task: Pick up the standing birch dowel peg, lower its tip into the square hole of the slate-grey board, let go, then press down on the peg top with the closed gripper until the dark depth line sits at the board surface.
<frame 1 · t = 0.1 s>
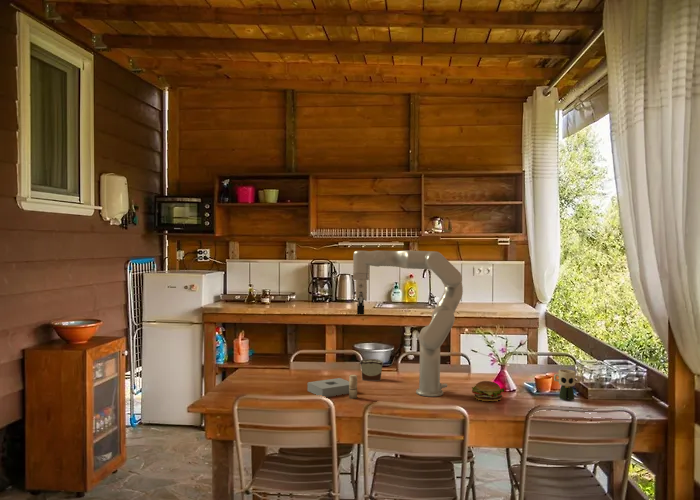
hand: (360, 313, 258), 37 cm above the table, tool pointing down, fingers open, 9 cm apart
socket board: (331, 391, 258), on the table
birch peg: (353, 397, 248), on the table
food container: (371, 379, 284), on the table
food: (487, 399, 248), on the table
character mug: (566, 400, 249), on the table
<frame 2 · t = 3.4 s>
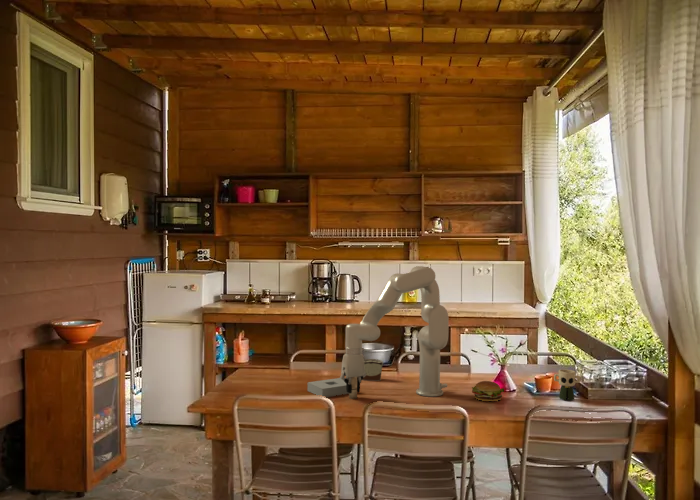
hand: (353, 391, 248), 3 cm above the table, tool pointing down, fingers closed on birch peg, 3 cm apart
birch peg: (353, 397, 248), on the table, touching gripper
everything else where it was.
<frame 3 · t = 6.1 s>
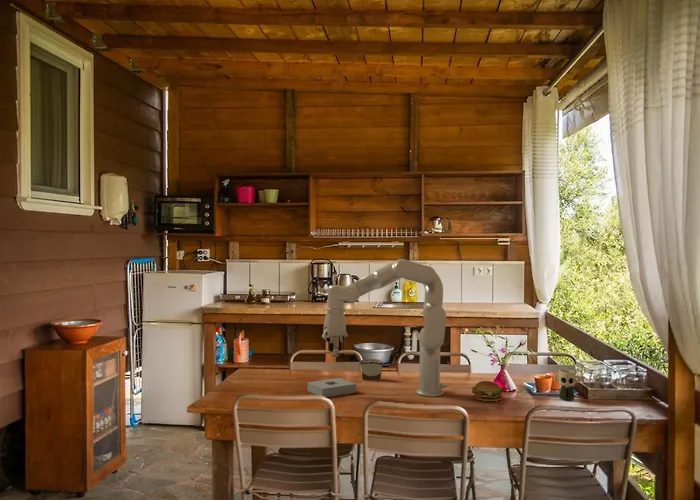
hand: (334, 350, 257), 20 cm above the table, tool pointing down, fingers closed on birch peg, 3 cm apart
birch peg: (334, 356, 257), point 17 cm above the table, touching gripper
everything else where it was.
when the fingers open (5 cm above the table, at t = 8.7 s): birch peg drops 2 cm, resting in socket board.
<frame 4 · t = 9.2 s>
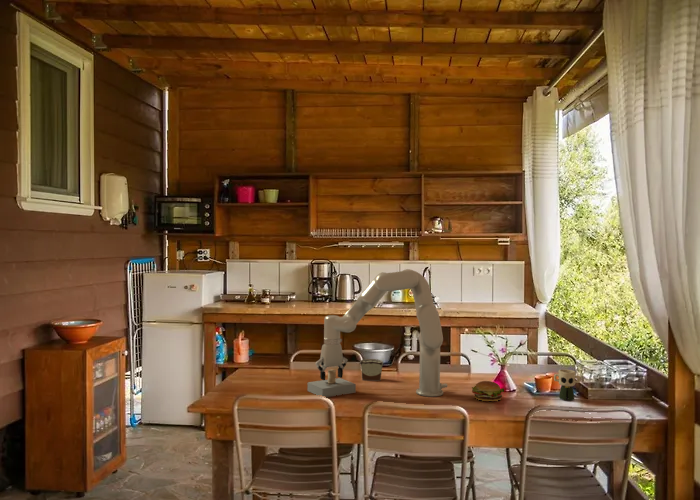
hand: (331, 378, 258), 6 cm above the table, tool pointing down, fingers open, 9 cm apart
birch peg: (331, 391, 258), resting in socket board
everything else where it was.
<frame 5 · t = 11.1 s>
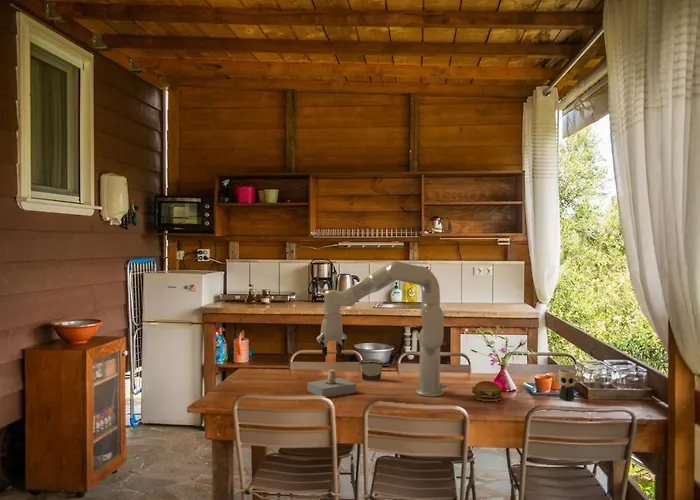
hand: (331, 353, 258), 18 cm above the table, tool pointing down, fingers open, 7 cm apart
nothing on the table moved.
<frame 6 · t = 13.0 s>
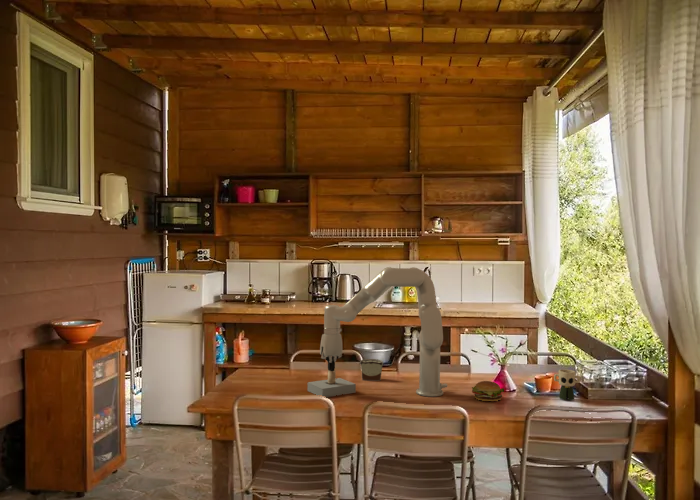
hand: (331, 370, 258), 10 cm above the table, tool pointing down, fingers closed
birch peg: (331, 391, 258), resting in socket board, touching gripper
everything else where it was.
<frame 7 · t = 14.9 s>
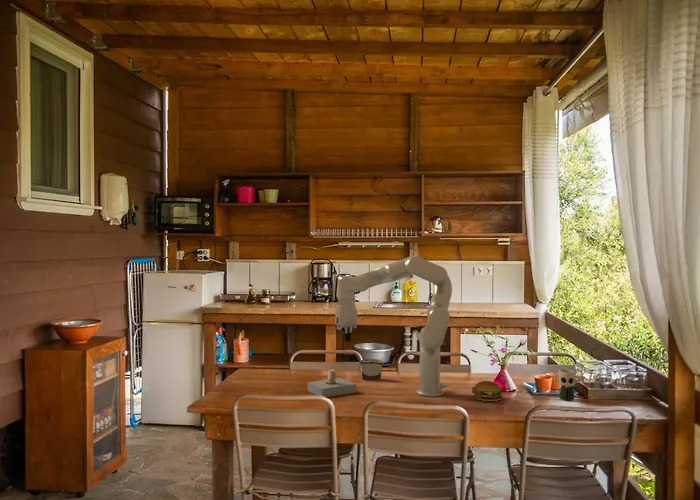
hand: (347, 341, 258), 24 cm above the table, tool pointing down, fingers closed
birch peg: (331, 391, 258), resting in socket board
everything else where it was.
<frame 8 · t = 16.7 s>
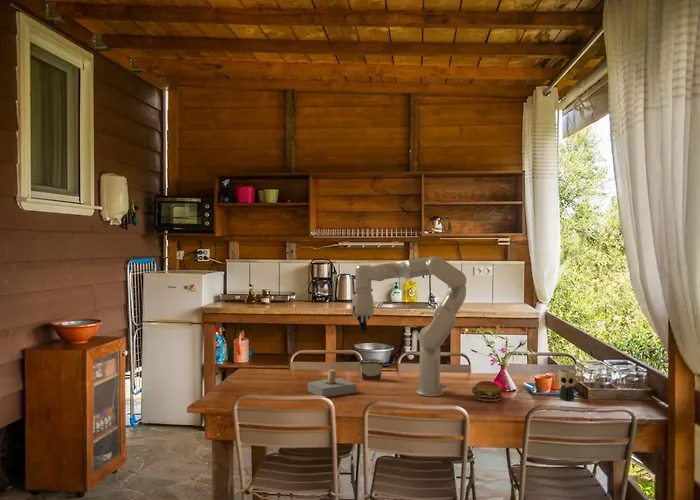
hand: (362, 330, 258), 29 cm above the table, tool pointing down, fingers closed
nothing on the table moved.
at the end: birch peg 0.1 cm off-centre on the socket board, point 0.0 cm above the socket board's base; birch peg tilted 0°; the gripper is holding nothing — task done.
